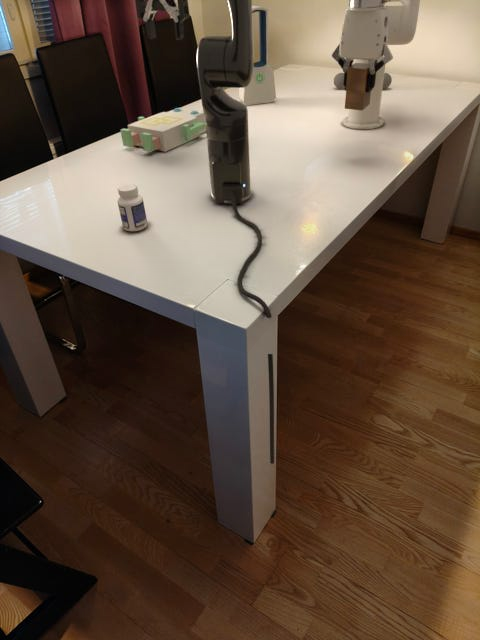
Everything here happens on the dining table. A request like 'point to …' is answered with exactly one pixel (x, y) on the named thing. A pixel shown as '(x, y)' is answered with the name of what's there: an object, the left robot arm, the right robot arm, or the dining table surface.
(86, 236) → the dining table surface
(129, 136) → the decorative block
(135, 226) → the pill bottle
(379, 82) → the right robot arm
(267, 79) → the electronic device
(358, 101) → the block
